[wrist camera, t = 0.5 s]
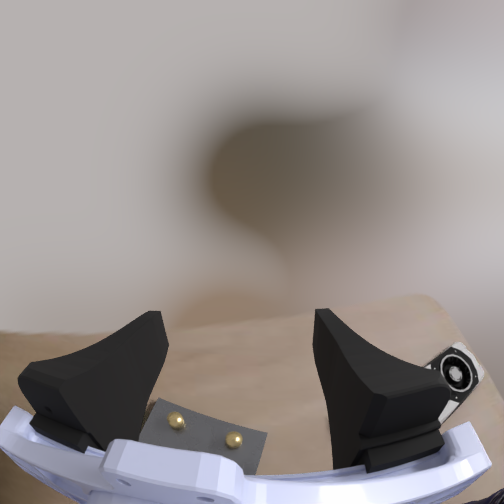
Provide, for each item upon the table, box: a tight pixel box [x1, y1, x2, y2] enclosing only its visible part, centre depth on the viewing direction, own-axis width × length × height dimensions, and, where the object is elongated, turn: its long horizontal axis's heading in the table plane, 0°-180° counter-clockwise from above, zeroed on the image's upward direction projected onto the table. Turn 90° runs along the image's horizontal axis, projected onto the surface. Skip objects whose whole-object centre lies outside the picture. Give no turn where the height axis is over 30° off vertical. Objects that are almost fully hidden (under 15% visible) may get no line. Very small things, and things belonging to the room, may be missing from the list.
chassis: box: [138, 398, 267, 475], centre depth 19 cm, size 12×12×2 cm
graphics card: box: [424, 342, 484, 424], centre depth 26 cm, size 10×3×25 cm
